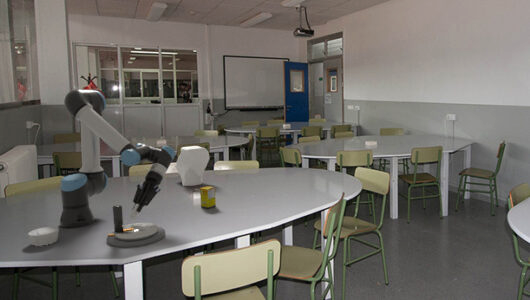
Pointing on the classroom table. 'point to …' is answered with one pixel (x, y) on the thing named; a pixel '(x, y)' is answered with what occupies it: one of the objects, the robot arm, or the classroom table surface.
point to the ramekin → (43, 236)
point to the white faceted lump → (192, 164)
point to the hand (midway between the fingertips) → (132, 217)
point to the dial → (131, 228)
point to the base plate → (118, 243)
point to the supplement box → (207, 197)
